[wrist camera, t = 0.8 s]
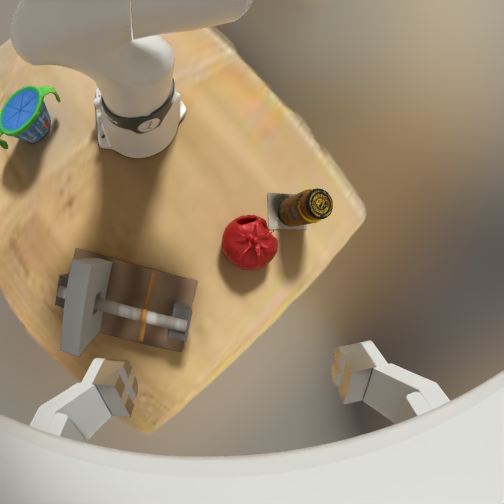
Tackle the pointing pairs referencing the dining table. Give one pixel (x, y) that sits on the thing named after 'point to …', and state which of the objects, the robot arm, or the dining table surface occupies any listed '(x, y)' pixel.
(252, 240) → the pomegranate
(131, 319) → the pipe rig
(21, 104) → the snack cup
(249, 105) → the dining table surface
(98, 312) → the grey slab
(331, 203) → the condiment
